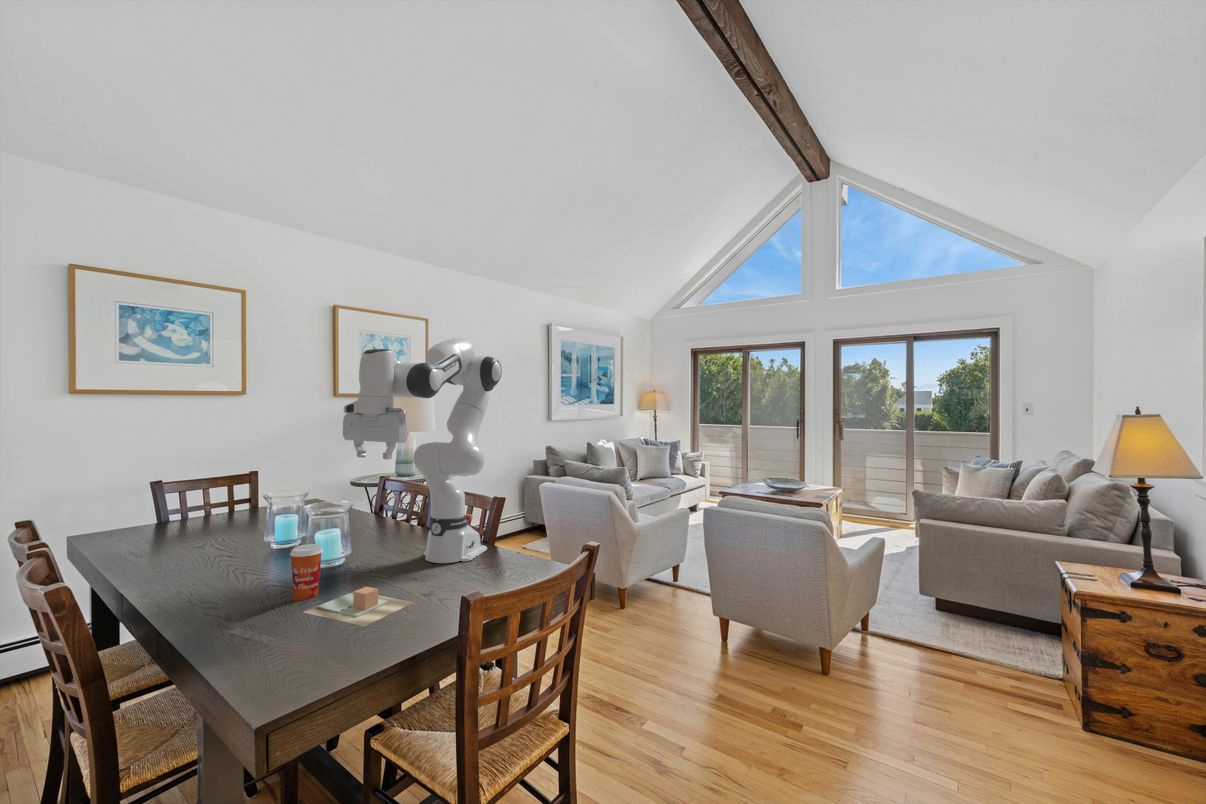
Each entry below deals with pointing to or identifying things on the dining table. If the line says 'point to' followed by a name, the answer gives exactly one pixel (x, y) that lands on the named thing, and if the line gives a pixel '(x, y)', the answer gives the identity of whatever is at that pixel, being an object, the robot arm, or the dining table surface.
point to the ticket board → (345, 602)
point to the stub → (364, 602)
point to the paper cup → (306, 570)
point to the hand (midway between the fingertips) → (374, 458)
